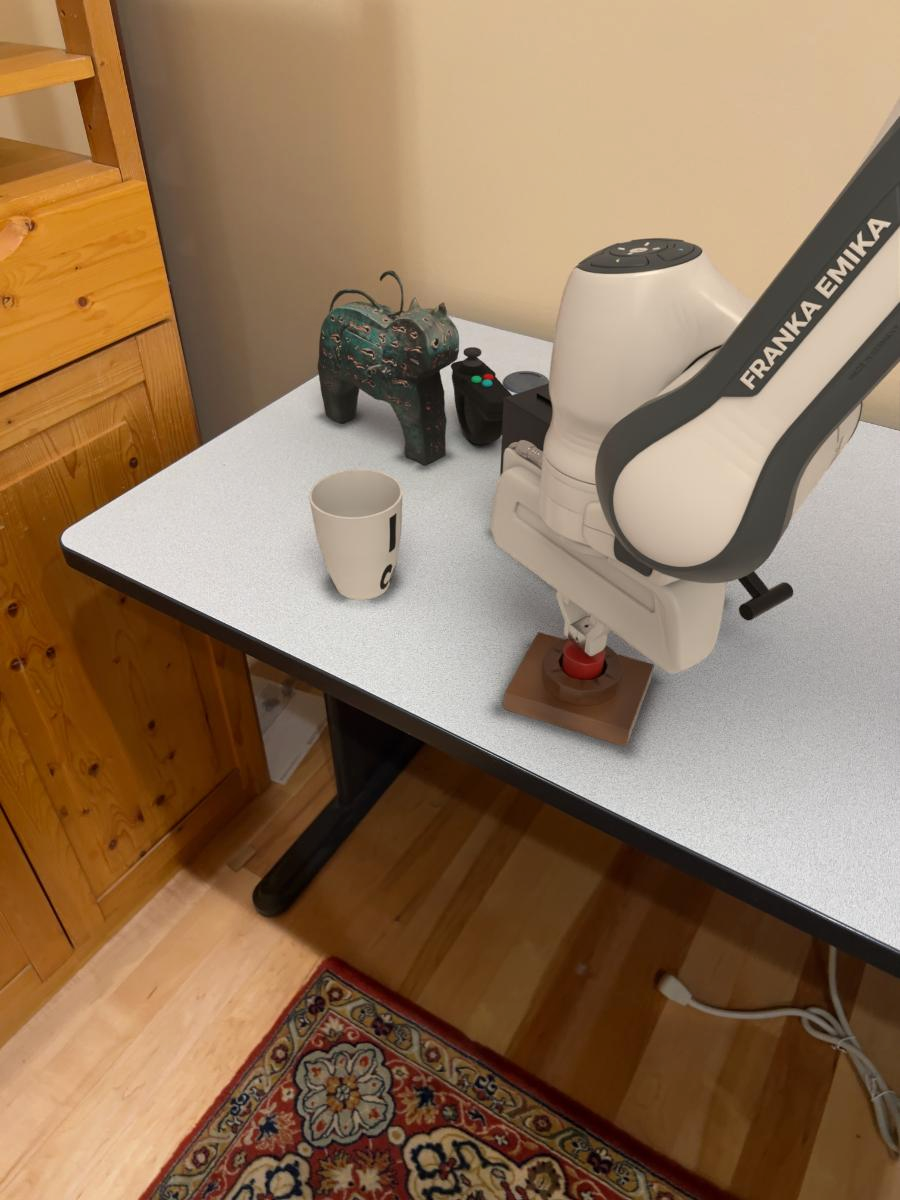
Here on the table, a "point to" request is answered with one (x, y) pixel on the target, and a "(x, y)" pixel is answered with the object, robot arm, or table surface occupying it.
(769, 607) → the toaster lever
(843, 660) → the table surface
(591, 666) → the button
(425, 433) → the ceramic cat
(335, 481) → the cup
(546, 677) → the control block
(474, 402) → the controller
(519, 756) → the table surface
